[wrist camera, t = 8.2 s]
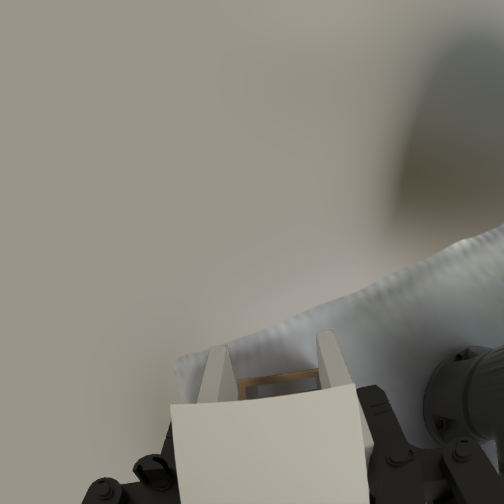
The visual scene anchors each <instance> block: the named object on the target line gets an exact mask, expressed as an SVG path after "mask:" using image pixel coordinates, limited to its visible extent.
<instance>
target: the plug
mask: <svg viewBox="0 0 504 504" xmlns="http://www.w3.org/2000/svg"><path fill="white" fill-rule="evenodd" d="M170 407H171V420H172V432H173V443H174V452H175V461H176V470H177V478H178V485H179V493H180V500H181V504H370V503H369V491H368V479H367V469H366V460H365V451H364V443H363V435H362V427H361V420H360V413H359V406H358V399H357V393H356V387H355V383H353V384H348V385H343V386H338V387H333V388H328V389H323V390H317V391H311V392H305V393H299V394H292V395H285V396H278V397H270V398H262V399H253V400H242V401H231V402H217V403H200V404H171V405H170Z"/></svg>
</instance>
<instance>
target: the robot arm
mask: <svg viewBox="0 0 504 504" xmlns="http://www.w3.org/2000/svg"><path fill="white" fill-rule="evenodd" d="M316 342H317V353H318V366H319V379H320V383H321V387H322V390H323V389H328V388H333V387H338V386H343V385H348V384H353V383H352V380H351V377H350V375H349V372H348V369H347V367H346V364H345V361H344V359H343V356H342V353H341V351H340V348H339V346H338V343H337V340H336V338H335V335H334V333H333V330H329V331H324V332H318V333H316ZM356 393H357V399H358V406H359V413H360V420H361V427H362V435H363V443H364V451H365V460H366V469H367V479H368V484H369V488H370V493H369V503H370V504H425V501H427V503H428V504H504V345H503V346H500V347H498V348H496V349H491V348H486V347H479V346H474V347H468V348H465V349H462V350H460V351H457V352H455V353H453V354H451V355H450V356H448V357H447V358H446V359H444V360H443V361H442V362H441V363H440V364H439V366H438V367H437V368H436V370H435V371H434V373H433V374H432V376H431V378H430V380H429V382H428V385H427V388H426V391H425V396H424V405H423V410H424V419H425V423H426V426H427V428H428V430H429V432H430V434H431V435H432V437H433V438H434V439H435V440H436V441H437V442H438V443H440V444H441V445H443V446H445V448H439V449H420V448H416V447H414V446H412V445H411V444H410V443H409V442H408V441H407V440H406V438H405V436H404V434H403V432H402V429H401V427H400V425H399V423H398V420H397V418H396V416H395V414H394V411H393V410H392V407H391V405H390V403H389V401H388V398H387V396H386V394H385V392H384V391H383V390H382V389H380V388H379V387H378V386H377V385H371V386H367V387H362V388H358V389H356ZM237 399H238V387H237V383H236V379H235V376H234V372H233V368H232V364H231V361H230V357H229V353H228V349H227V346H219V347H211V348H210V351H209V355H208V359H207V363H206V367H205V371H204V375H203V379H202V383H201V387H200V391H199V395H198V399H197V404H200V403H217V402H231V401H237ZM168 430H169V431H168V432H167V435H166V439H165V442H164V445H163V448H162V452H161V454H151V455H147V456H145V457H143V458H141V459H139V460H138V462H136V464H135V465H134V468H133V472H134V473H135V475H136V476H137V477H138V478H139V480H140V482H134V483H128V484H119V482H118V481H117V480H115V479H113V478H105V477H104V478H101V479H98V480H96V481H95V482H93V483H92V485H91V486H90V487H89V489H88V491H87V493H86V495H85V497H84V499H83V501H82V504H181V500H180V493H179V485H178V478H177V470H176V461H175V452H174V443H173V432H172V420H171V422H170V426H169V429H168ZM491 440H495V442H496V448H497V457H498V464H499V475H498V473H497V471H496V470H495V468H494V467H493V465H492V464H491V462H490V460H489V459H488V457H487V456H486V454H485V453H484V451H483V450H482V448H481V447H480V445H482V444H484V443H487V442H489V441H491Z"/></svg>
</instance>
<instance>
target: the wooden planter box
mask: <svg viewBox="0 0 504 504" xmlns="http://www.w3.org/2000/svg"><path fill="white" fill-rule="evenodd" d="M238 388H239V397H240V401H242V400H253V399H262V398H270V397H278V396H285V395H292V394H299V393H305V392H311V391H317V390H322V387H321V383H320V379H319V368H317V369H312V370H306V371H300V372H293V373H287V374H280V375H273V376H265V377H257V378H248V379H239V380H238Z"/></svg>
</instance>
